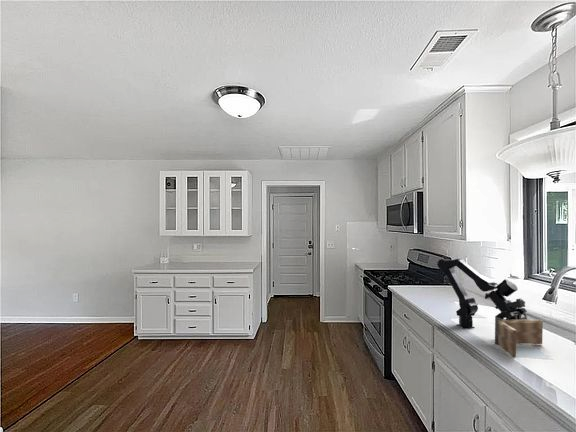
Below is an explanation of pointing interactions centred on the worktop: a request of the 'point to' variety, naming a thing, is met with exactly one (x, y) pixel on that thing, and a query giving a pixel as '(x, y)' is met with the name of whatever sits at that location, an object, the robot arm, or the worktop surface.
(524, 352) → the card
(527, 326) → the fence swing panel
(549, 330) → the worktop surface
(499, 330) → the panel
